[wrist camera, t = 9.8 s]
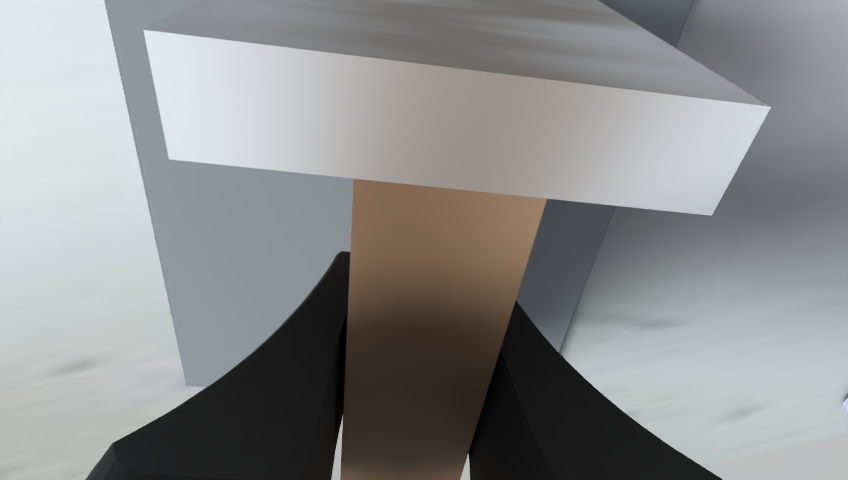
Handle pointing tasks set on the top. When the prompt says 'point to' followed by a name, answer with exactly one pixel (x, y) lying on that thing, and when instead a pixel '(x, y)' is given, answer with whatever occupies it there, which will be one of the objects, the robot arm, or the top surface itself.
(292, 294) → the mat
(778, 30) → the top surface
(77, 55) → the top surface
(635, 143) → the white-capped wooden block
